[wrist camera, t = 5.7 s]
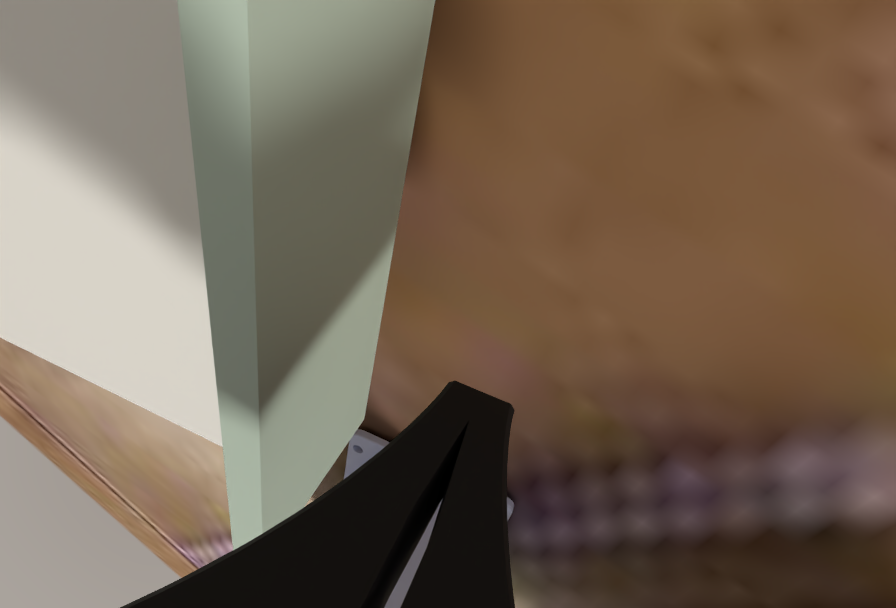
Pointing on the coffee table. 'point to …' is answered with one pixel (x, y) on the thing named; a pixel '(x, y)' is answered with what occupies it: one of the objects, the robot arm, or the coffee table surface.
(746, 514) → the coffee table surface
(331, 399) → the lid
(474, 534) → the robot arm
